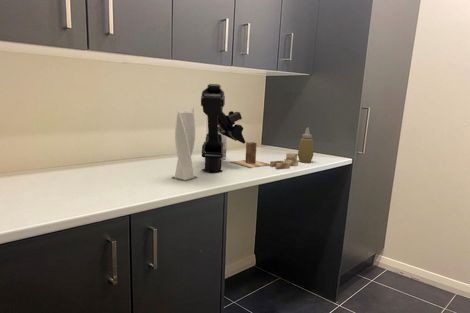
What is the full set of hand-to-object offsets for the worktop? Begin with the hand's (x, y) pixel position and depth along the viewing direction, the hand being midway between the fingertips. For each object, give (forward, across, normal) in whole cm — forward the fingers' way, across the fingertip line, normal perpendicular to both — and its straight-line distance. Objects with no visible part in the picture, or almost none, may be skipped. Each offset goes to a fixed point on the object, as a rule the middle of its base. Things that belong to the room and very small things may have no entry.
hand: (240, 141), depth 159 cm
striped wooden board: (+12, 0, +4) cm, 13 cm away
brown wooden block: (+12, 0, +3) cm, 12 cm away
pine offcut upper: (+24, -6, -12) cm, 27 cm away
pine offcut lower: (+26, -6, -10) cm, 28 cm away
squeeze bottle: (+35, -1, -19) cm, 39 cm away
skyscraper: (-15, -20, +31) cm, 40 cm away
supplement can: (+5, +16, +12) cm, 20 cm away
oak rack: (+20, -10, -4) cm, 22 cm away
